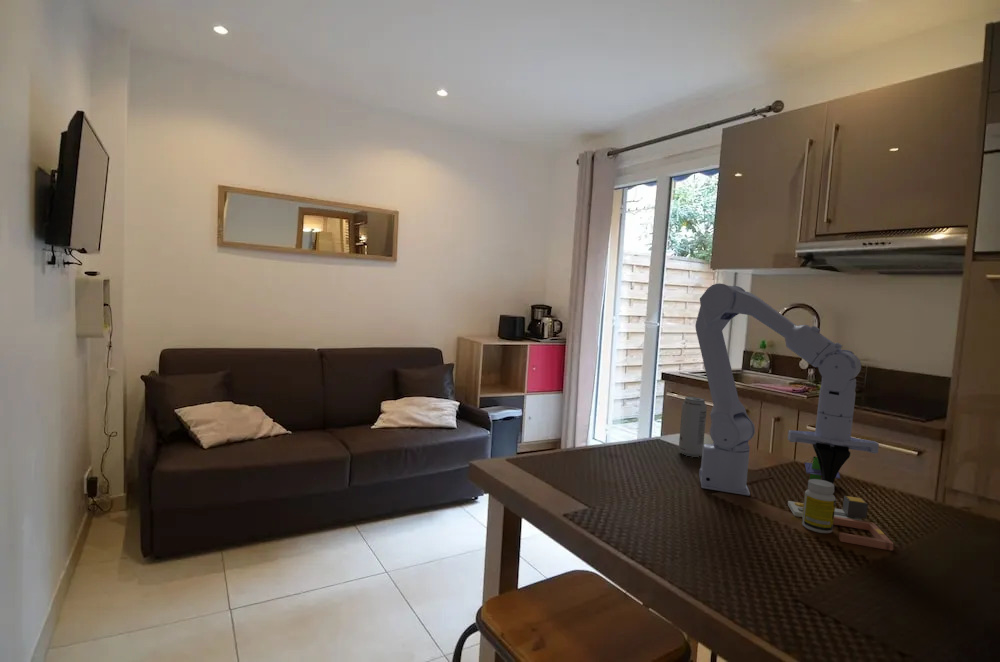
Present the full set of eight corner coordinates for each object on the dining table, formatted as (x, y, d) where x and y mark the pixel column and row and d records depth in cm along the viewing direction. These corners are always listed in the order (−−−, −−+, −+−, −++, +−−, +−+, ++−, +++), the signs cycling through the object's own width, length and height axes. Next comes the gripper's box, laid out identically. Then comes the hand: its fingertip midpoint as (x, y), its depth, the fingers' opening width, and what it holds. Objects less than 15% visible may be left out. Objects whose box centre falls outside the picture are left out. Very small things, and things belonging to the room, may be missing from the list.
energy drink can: (681, 450, 140) (686, 395, 139) (705, 454, 136) (709, 399, 136) (675, 454, 135) (680, 398, 134) (699, 459, 131) (704, 401, 131)
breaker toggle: (847, 515, 96) (849, 500, 96) (842, 509, 99) (844, 495, 99) (866, 518, 95) (867, 503, 95) (860, 512, 98) (862, 497, 98)
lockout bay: (840, 541, 88) (841, 533, 88) (825, 521, 96) (826, 514, 96) (892, 550, 85) (893, 543, 85) (873, 529, 94) (873, 522, 94)
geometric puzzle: (844, 484, 112) (842, 450, 116) (807, 478, 115) (807, 445, 119) (836, 495, 117) (835, 462, 121) (802, 489, 120) (802, 457, 124)
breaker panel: (794, 515, 98) (794, 510, 98) (787, 504, 103) (788, 499, 103) (865, 527, 94) (865, 522, 94) (854, 515, 100) (854, 510, 100)
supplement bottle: (837, 535, 90) (842, 488, 89) (807, 531, 91) (812, 485, 90) (825, 524, 95) (830, 479, 94) (797, 520, 95) (802, 476, 95)
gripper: (796, 412, 96) (789, 483, 97) (888, 423, 92) (879, 497, 92) (788, 405, 103) (781, 472, 104) (873, 415, 98) (865, 485, 99)
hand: (827, 483), depth 99 cm, fingers closed
